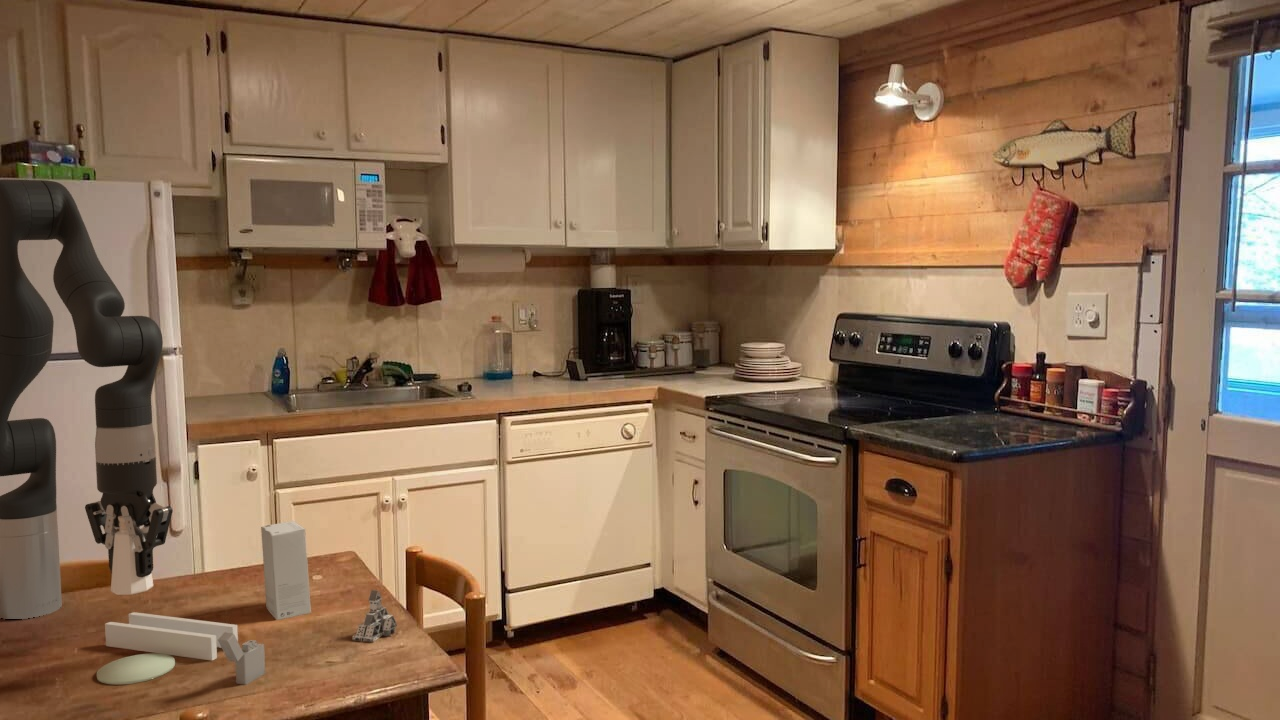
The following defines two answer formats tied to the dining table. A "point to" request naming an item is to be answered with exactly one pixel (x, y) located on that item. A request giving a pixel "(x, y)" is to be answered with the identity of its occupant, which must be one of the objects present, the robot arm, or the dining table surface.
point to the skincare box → (285, 570)
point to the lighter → (244, 657)
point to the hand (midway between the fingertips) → (131, 573)
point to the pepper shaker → (126, 564)
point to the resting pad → (135, 669)
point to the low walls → (168, 635)
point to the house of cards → (375, 621)
